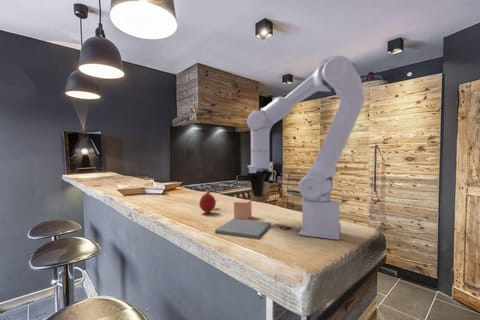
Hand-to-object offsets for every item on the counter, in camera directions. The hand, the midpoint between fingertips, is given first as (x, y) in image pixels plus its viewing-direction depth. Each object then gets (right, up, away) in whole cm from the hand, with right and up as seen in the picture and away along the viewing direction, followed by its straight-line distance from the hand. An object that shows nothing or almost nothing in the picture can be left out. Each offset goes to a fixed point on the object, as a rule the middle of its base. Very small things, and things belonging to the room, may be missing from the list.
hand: (260, 195), depth 70 cm
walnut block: (0, -2, 0) cm, 2 cm away
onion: (-18, -9, +12) cm, 23 cm away
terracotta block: (-5, -9, +6) cm, 12 cm away
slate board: (-5, -9, -7) cm, 12 cm away
